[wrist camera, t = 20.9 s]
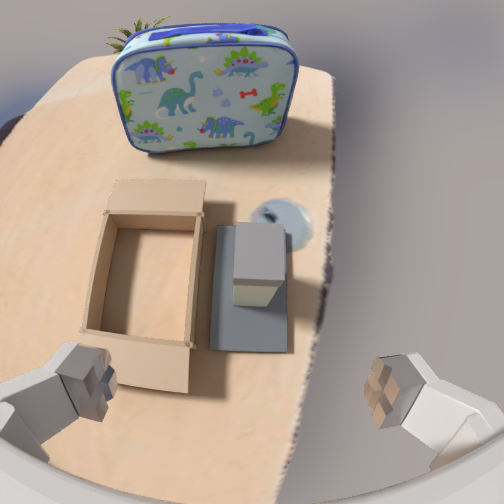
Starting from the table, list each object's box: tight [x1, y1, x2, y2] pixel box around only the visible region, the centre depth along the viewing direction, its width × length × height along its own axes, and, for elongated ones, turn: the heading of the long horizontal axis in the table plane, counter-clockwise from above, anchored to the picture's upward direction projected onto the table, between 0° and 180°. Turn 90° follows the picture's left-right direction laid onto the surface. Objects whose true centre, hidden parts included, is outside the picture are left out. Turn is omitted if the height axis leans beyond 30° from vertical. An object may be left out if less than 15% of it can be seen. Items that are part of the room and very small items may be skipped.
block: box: [233, 222, 285, 307], centre depth 29 cm, size 5×4×11 cm
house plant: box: [107, 16, 170, 54], centre depth 45 cm, size 14×14×16 cm
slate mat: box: [210, 225, 287, 352], centre depth 35 cm, size 16×9×1 cm, turn 179°
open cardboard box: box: [80, 179, 206, 393], centre depth 32 cm, size 26×14×4 cm, turn 179°
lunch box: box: [111, 23, 299, 153], centre depth 36 cm, size 26×11×21 cm, turn 97°
